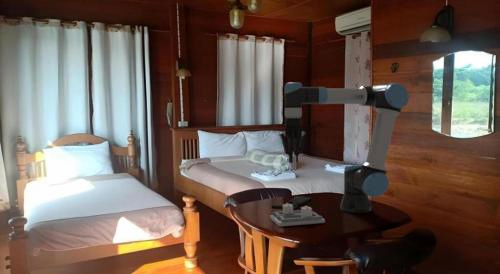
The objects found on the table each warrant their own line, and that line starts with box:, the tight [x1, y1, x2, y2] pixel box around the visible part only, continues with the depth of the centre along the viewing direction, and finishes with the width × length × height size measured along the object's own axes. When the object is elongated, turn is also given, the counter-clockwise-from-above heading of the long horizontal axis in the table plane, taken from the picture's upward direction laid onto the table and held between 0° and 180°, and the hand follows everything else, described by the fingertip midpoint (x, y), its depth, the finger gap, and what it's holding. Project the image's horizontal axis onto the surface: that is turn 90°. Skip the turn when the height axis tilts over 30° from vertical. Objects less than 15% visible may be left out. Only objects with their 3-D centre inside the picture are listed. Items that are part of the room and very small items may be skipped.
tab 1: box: [282, 202, 294, 214], centre depth 190 cm, size 4×3×6 cm
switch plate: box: [269, 209, 326, 227], centre depth 188 cm, size 22×13×3 cm, turn 105°
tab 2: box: [300, 205, 313, 217], centre depth 185 cm, size 4×3×6 cm
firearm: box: [271, 195, 312, 211], centre depth 221 cm, size 28×2×15 cm
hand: (293, 169), depth 183 cm, fingers closed
